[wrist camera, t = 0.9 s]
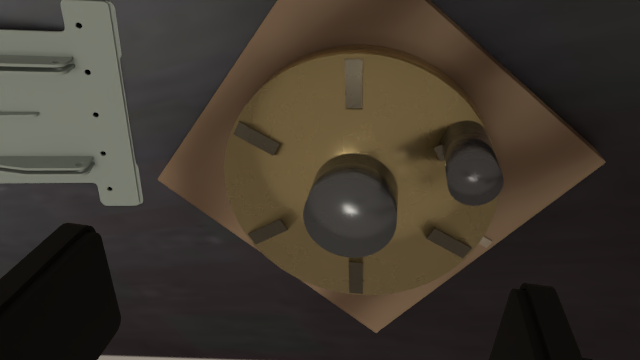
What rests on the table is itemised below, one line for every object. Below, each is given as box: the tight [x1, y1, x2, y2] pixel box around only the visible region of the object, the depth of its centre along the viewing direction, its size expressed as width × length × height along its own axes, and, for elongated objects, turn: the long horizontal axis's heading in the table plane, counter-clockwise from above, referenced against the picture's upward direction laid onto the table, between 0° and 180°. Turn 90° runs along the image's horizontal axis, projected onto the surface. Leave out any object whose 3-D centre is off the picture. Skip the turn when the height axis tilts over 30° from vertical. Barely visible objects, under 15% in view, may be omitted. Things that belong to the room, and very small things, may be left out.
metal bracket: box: [0, 0, 143, 206], centre depth 33 cm, size 14×6×15 cm
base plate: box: [157, 0, 606, 333], centre depth 30 cm, size 20×20×2 cm
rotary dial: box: [224, 45, 504, 295], centre depth 26 cm, size 16×16×7 cm
